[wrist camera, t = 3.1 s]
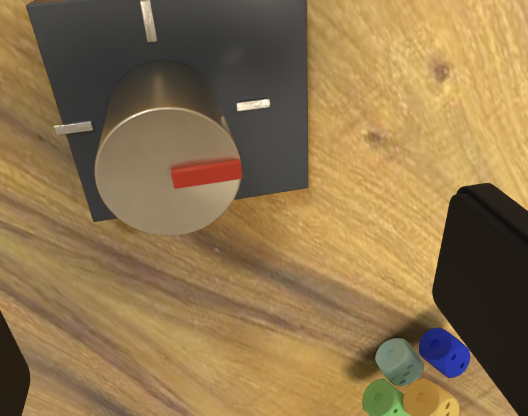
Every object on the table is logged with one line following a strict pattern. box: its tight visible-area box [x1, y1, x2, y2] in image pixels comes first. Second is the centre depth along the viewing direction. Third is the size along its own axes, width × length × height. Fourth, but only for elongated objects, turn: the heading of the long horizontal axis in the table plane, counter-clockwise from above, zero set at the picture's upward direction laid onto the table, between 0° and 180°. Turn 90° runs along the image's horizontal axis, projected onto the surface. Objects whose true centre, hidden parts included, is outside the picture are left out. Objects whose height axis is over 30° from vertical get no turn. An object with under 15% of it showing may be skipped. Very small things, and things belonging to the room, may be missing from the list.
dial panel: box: [26, 0, 308, 222], centre depth 19 cm, size 10×9×2 cm
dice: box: [362, 328, 470, 416], centre depth 30 cm, size 8×3×6 cm, turn 130°
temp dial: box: [94, 61, 242, 236], centre depth 16 cm, size 4×4×6 cm
